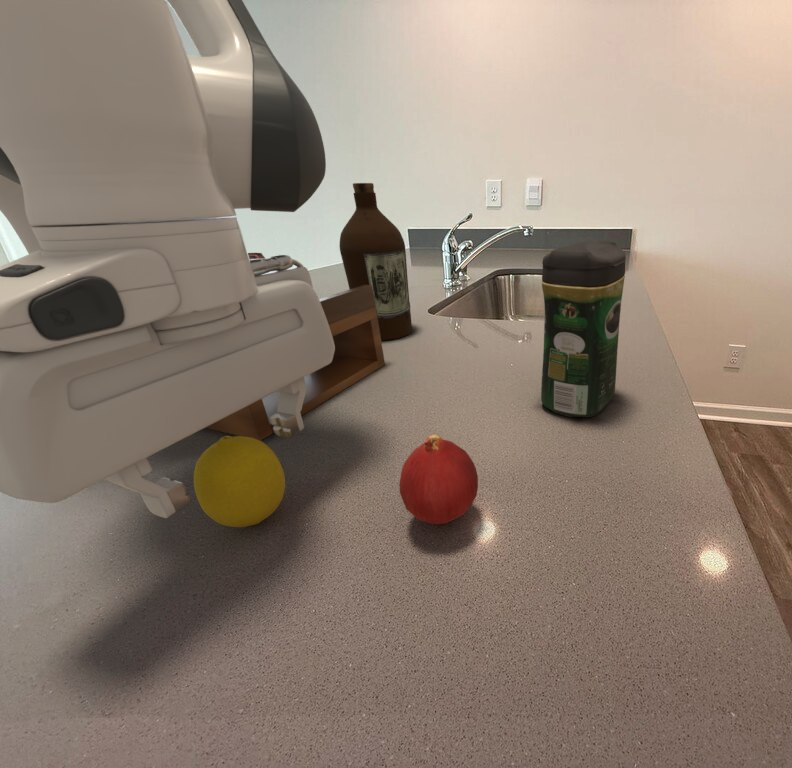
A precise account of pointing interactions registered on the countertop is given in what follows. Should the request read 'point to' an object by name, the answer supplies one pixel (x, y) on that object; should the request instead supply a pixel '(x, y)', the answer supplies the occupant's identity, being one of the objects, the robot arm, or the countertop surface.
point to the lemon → (239, 481)
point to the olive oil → (377, 262)
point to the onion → (438, 481)
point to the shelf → (350, 363)
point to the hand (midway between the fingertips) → (239, 466)
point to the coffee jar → (581, 326)
